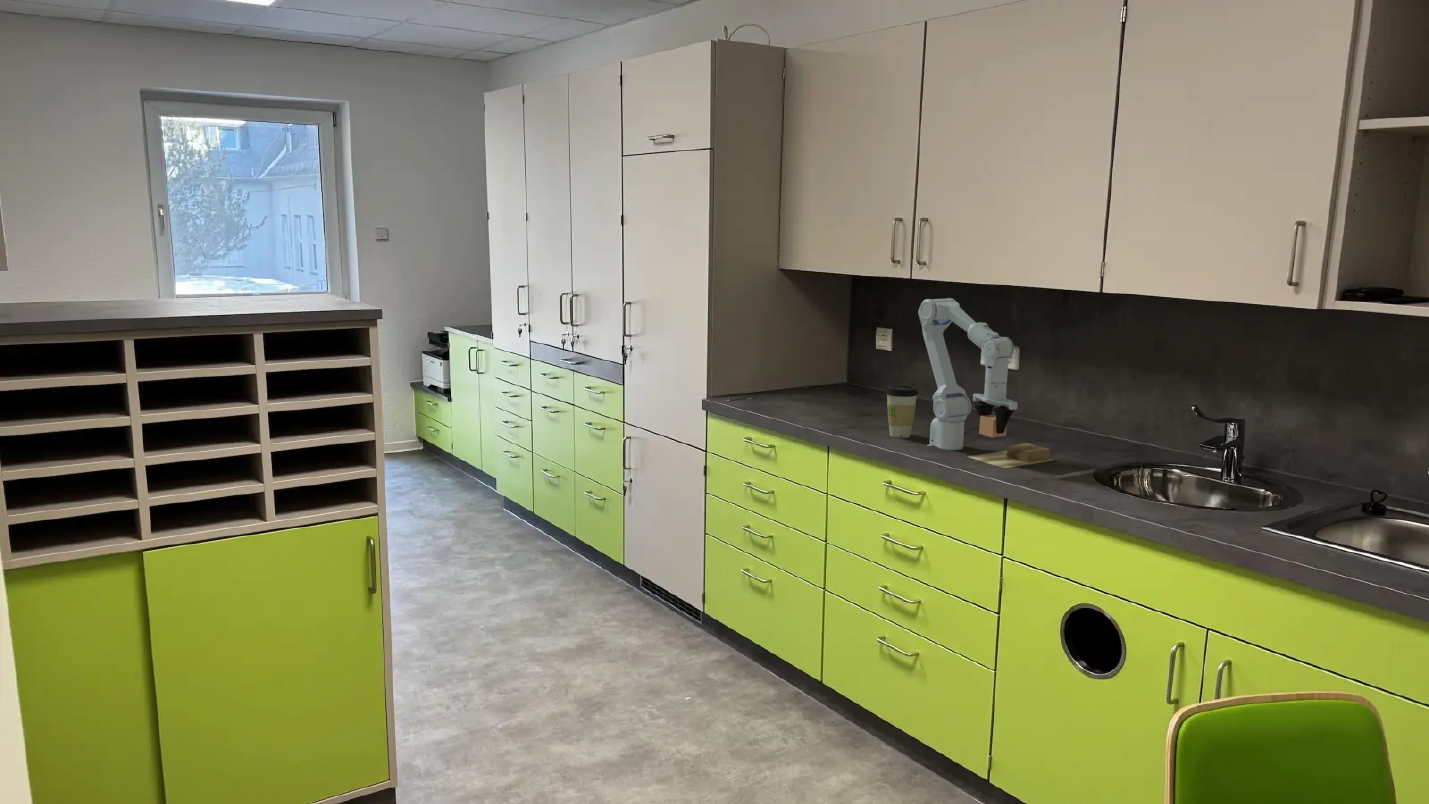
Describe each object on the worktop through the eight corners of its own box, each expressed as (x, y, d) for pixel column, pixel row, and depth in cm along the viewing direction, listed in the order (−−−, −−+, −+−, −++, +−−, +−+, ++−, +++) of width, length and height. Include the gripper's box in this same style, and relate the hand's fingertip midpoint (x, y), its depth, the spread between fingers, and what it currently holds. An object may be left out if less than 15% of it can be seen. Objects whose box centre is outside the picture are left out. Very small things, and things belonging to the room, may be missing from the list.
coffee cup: (890, 430, 300) (892, 383, 297) (920, 434, 295) (923, 386, 292) (879, 436, 291) (881, 388, 288) (909, 440, 286) (912, 391, 284)
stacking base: (966, 459, 264) (967, 446, 263) (1015, 451, 273) (1016, 438, 272) (1004, 471, 252) (1005, 457, 251) (1054, 462, 261) (1055, 449, 260)
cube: (979, 433, 261) (980, 416, 260) (992, 431, 264) (993, 414, 263) (992, 437, 257) (993, 419, 256) (1006, 435, 259) (1007, 417, 258)
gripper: (965, 379, 262) (963, 427, 264) (1005, 387, 249) (1001, 437, 252) (984, 377, 265) (981, 424, 268) (1024, 385, 253) (1020, 435, 255)
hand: (992, 431), depth 260 cm, fingers closed on cube, 5 cm apart
